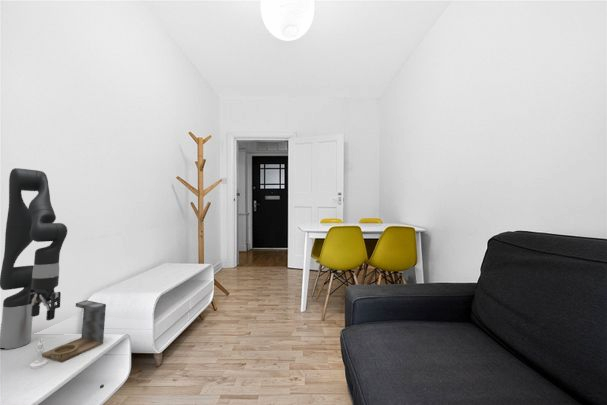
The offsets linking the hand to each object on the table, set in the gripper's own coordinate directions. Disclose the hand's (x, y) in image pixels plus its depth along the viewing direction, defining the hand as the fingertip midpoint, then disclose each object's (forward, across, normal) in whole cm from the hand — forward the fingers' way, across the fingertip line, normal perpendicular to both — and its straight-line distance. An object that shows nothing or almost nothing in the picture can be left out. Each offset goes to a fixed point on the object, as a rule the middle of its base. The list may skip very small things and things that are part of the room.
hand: (42, 317), depth 104 cm
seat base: (+18, 0, +12) cm, 21 cm away
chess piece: (+18, 0, 0) cm, 18 cm away
